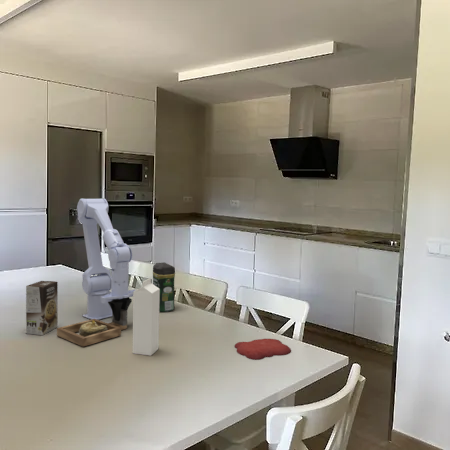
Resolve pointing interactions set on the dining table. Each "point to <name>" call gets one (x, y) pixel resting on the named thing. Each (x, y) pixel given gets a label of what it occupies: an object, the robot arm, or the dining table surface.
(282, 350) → the red lobed slab
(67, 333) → the pull frame
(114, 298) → the robot arm
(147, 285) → the milk
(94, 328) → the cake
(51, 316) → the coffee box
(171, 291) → the coffee jar
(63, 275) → the dining table surface
